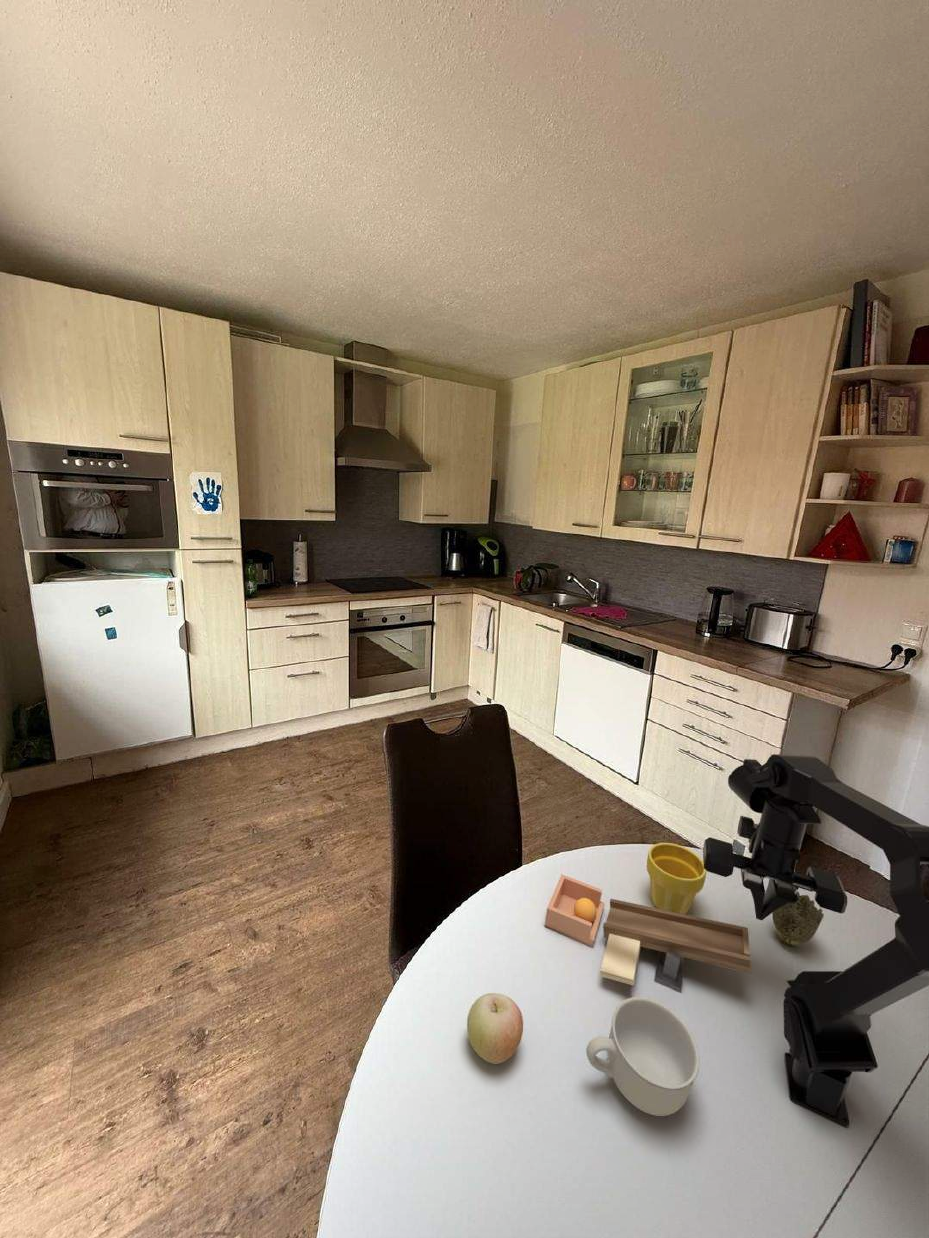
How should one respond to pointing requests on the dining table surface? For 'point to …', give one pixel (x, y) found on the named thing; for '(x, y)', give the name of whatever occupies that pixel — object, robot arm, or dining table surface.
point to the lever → (668, 939)
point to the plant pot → (674, 876)
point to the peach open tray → (563, 914)
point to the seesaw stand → (669, 969)
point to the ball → (585, 909)
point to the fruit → (495, 1027)
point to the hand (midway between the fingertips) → (758, 917)
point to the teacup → (648, 1056)
